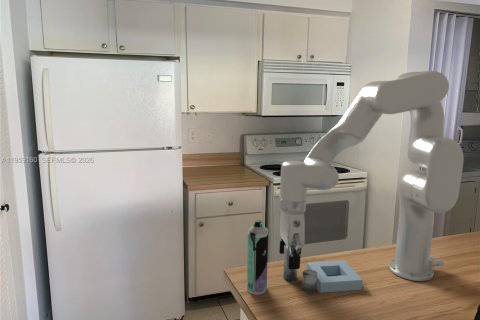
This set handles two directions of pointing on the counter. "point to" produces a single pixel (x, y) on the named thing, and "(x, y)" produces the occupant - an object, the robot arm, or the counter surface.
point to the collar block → (335, 283)
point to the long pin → (288, 273)
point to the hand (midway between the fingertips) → (289, 260)
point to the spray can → (257, 259)
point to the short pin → (309, 281)
